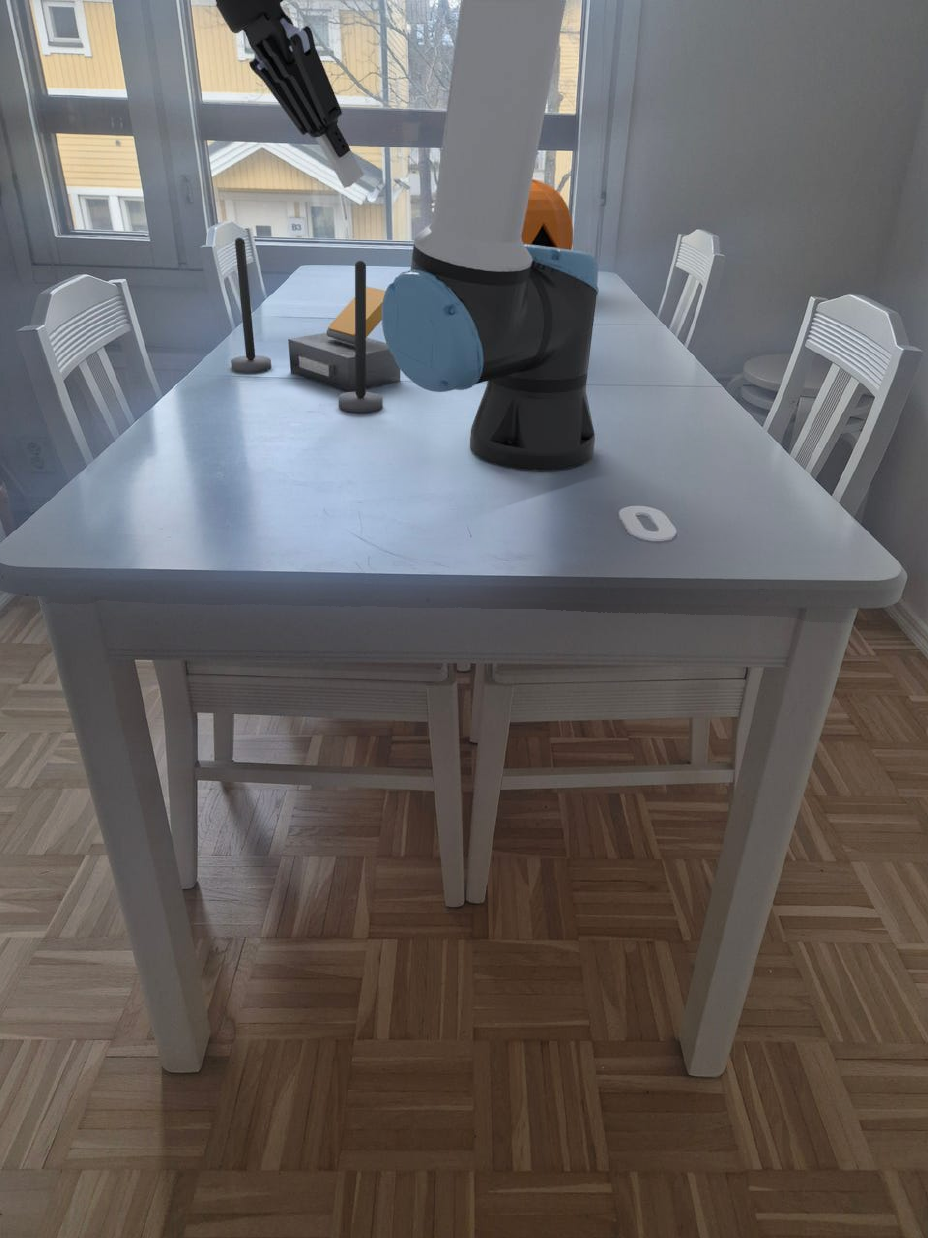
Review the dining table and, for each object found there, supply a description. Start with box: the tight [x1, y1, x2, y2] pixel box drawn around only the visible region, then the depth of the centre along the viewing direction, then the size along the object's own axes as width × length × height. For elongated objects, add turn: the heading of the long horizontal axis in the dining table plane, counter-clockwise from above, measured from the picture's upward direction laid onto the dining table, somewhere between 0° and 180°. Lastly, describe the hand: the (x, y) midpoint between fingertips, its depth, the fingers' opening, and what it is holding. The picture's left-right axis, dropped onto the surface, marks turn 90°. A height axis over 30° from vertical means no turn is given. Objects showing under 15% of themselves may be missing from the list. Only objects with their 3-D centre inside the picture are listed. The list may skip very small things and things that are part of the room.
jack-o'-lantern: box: [521, 178, 574, 250], centre depth 185 cm, size 28×28×30 cm
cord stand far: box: [230, 237, 272, 374], centre depth 125 cm, size 6×6×19 cm
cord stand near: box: [337, 260, 384, 414], centre depth 110 cm, size 6×6×19 cm
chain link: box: [618, 505, 677, 540], centre depth 85 cm, size 8×1×5 cm
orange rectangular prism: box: [325, 286, 386, 345], centre depth 126 cm, size 2×6×10 cm
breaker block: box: [288, 332, 401, 393], centre depth 126 cm, size 11×14×5 cm
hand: (354, 180), depth 108 cm, fingers closed
